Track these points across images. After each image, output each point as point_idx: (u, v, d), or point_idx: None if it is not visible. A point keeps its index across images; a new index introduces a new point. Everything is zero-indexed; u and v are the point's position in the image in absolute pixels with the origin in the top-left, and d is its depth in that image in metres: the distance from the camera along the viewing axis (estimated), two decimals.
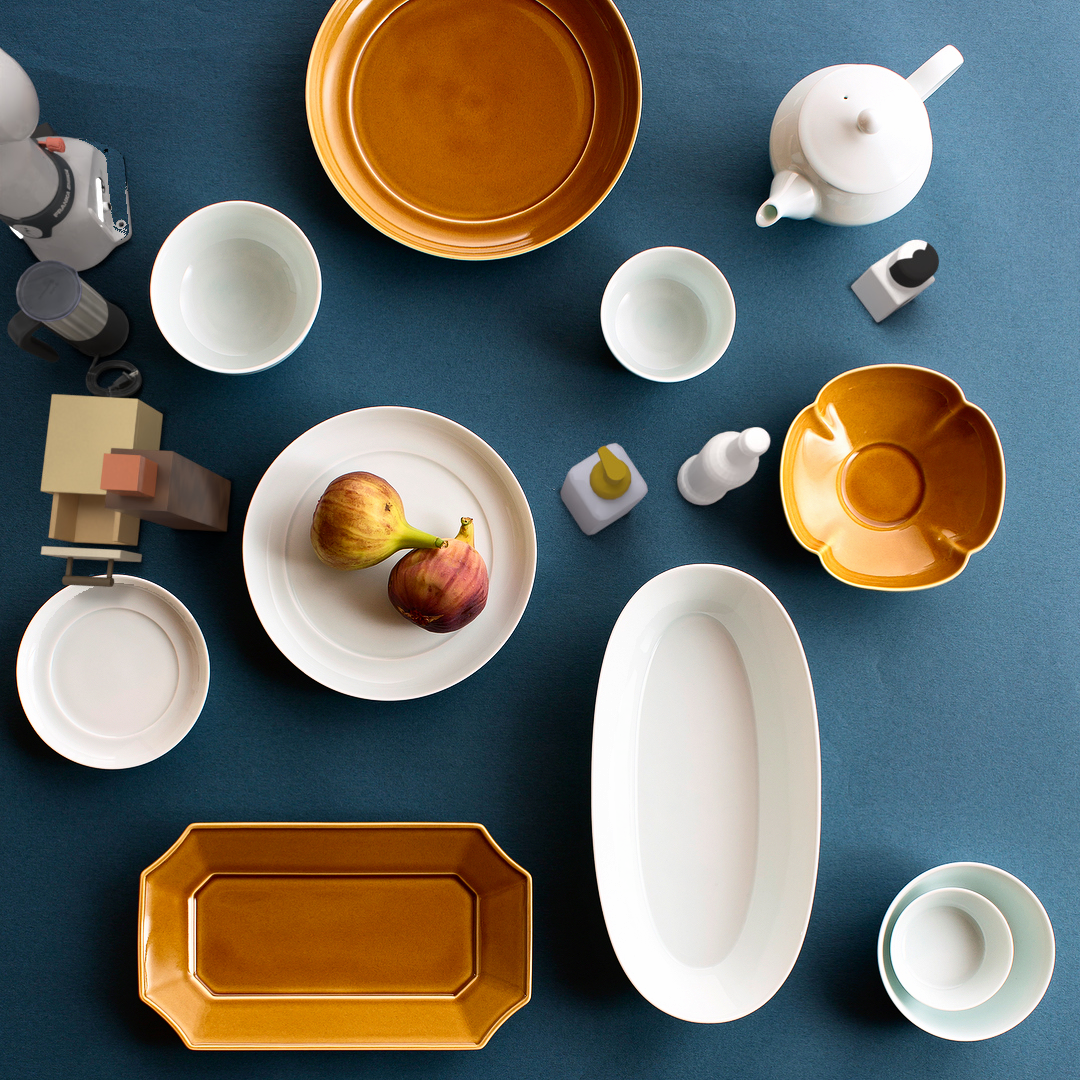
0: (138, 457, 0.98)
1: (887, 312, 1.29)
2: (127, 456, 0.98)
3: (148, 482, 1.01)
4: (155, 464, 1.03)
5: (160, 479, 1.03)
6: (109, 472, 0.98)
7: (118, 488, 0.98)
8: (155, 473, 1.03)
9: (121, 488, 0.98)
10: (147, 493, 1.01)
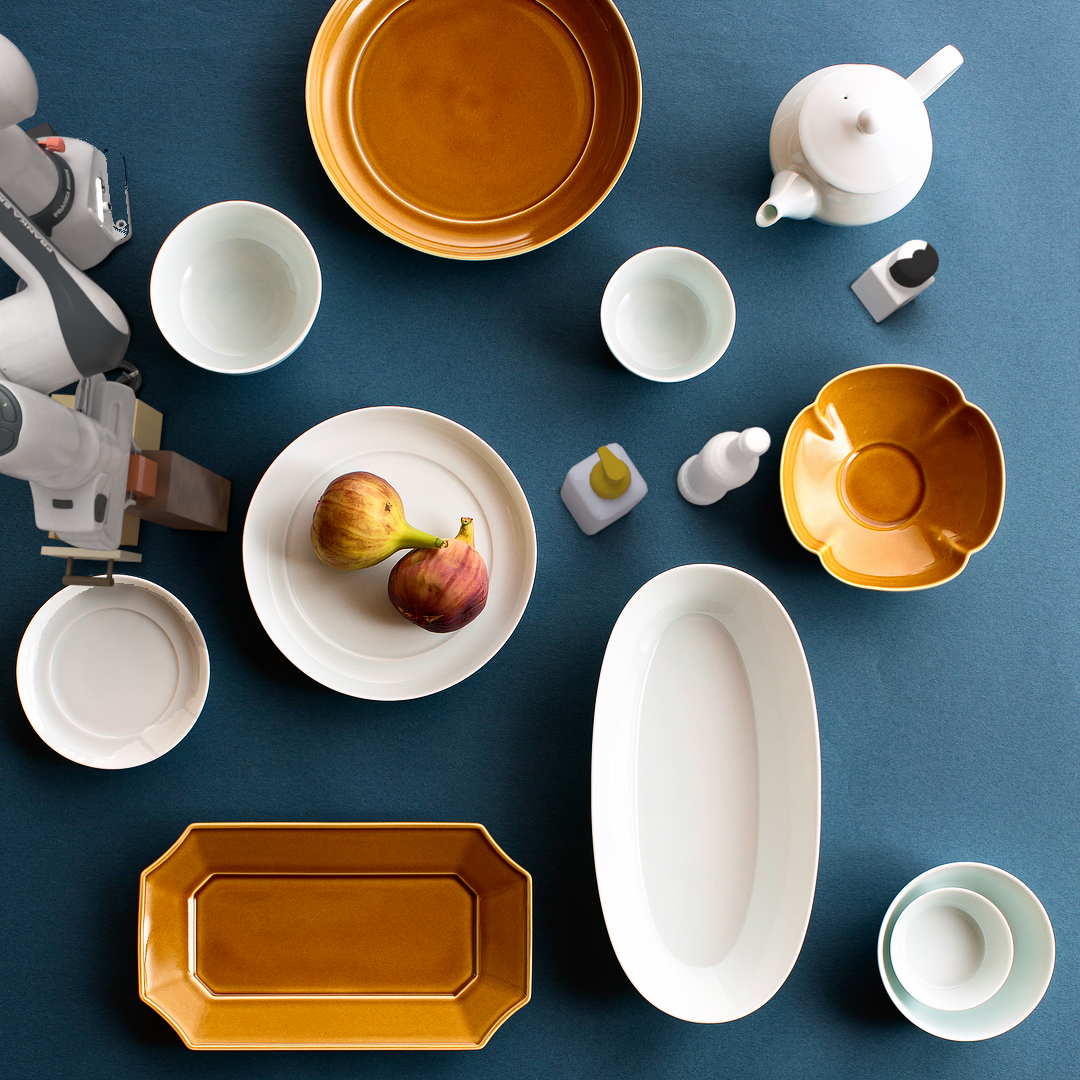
0: (138, 457, 0.98)
1: (887, 312, 1.29)
2: None
3: (148, 482, 1.01)
4: (155, 464, 1.03)
5: (160, 479, 1.03)
6: None
7: None
8: (155, 473, 1.03)
9: None
10: (147, 493, 1.01)
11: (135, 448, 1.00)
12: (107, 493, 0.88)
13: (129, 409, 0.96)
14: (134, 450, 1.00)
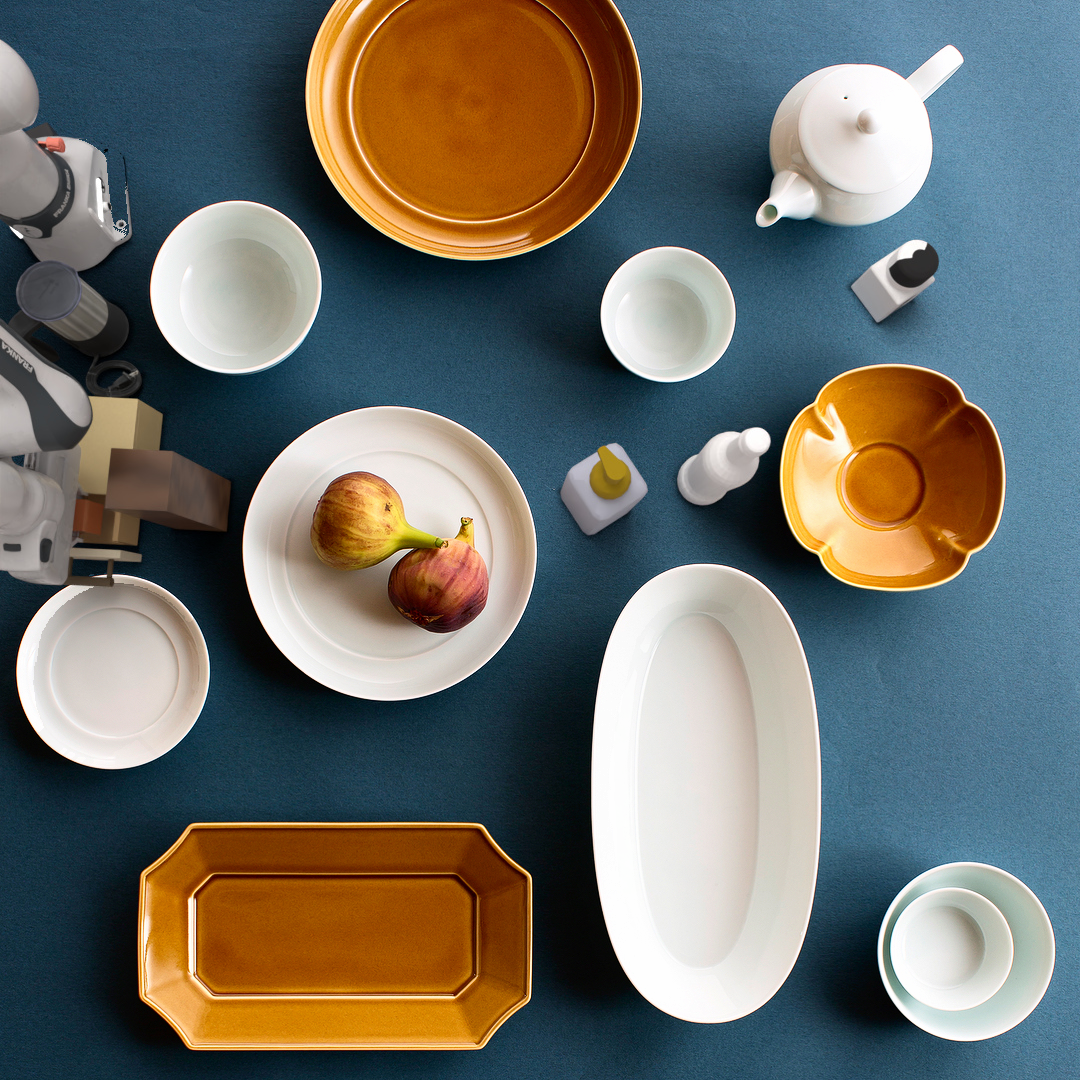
0: (84, 501, 1.12)
1: (887, 312, 1.29)
2: None
3: (94, 522, 1.15)
4: (101, 506, 1.16)
5: (160, 479, 1.03)
6: None
7: None
8: (101, 513, 1.17)
9: None
10: (93, 532, 1.15)
11: (82, 493, 1.14)
12: (52, 537, 1.02)
13: (74, 460, 1.10)
14: (81, 494, 1.14)
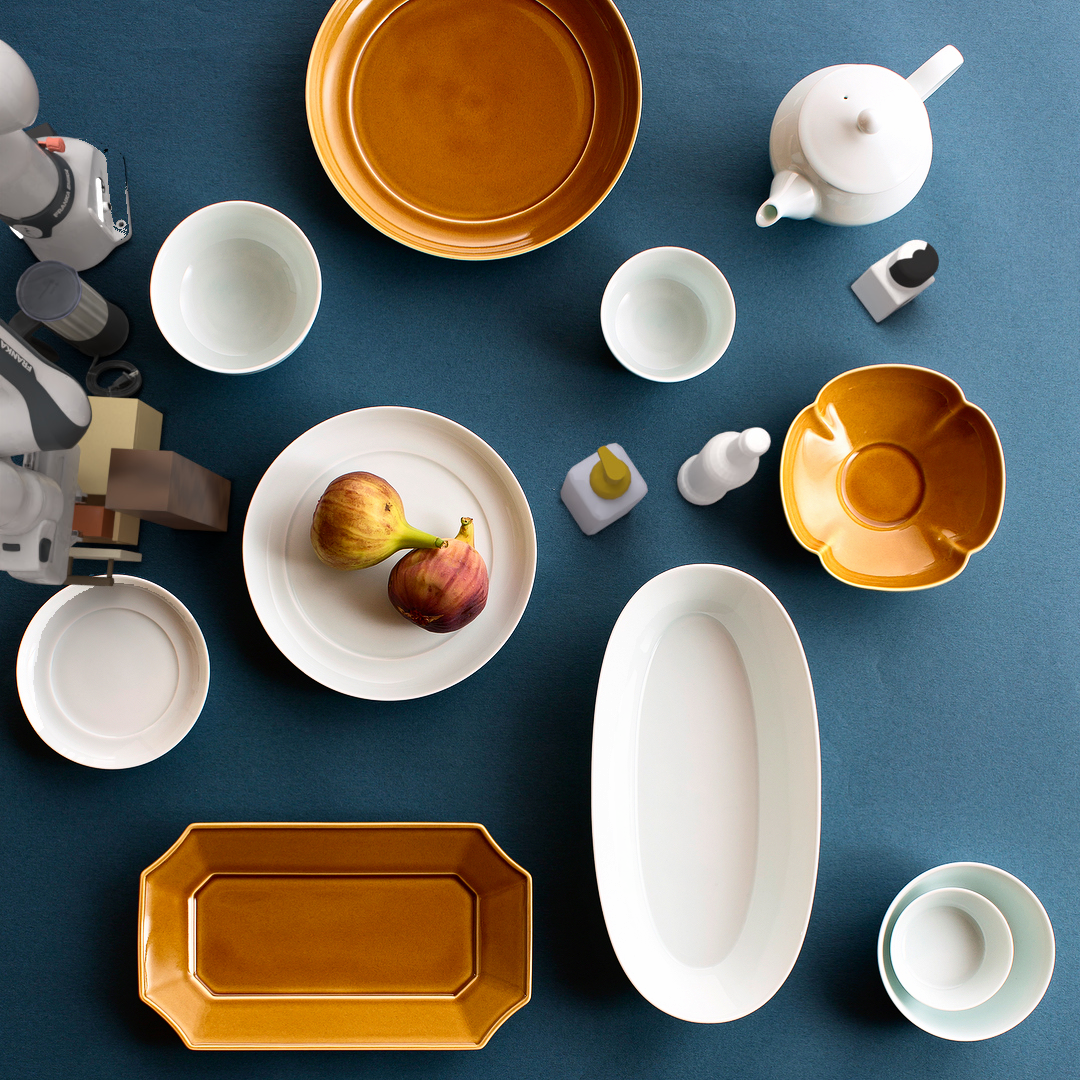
0: (102, 508, 1.17)
1: (887, 312, 1.29)
2: (93, 507, 1.17)
3: (111, 528, 1.20)
4: None
5: (160, 479, 1.03)
6: (78, 520, 1.17)
7: (85, 534, 1.17)
8: None
9: (88, 534, 1.17)
10: (110, 537, 1.20)
11: (81, 494, 1.13)
12: (51, 537, 1.02)
13: (74, 460, 1.09)
14: (80, 495, 1.14)
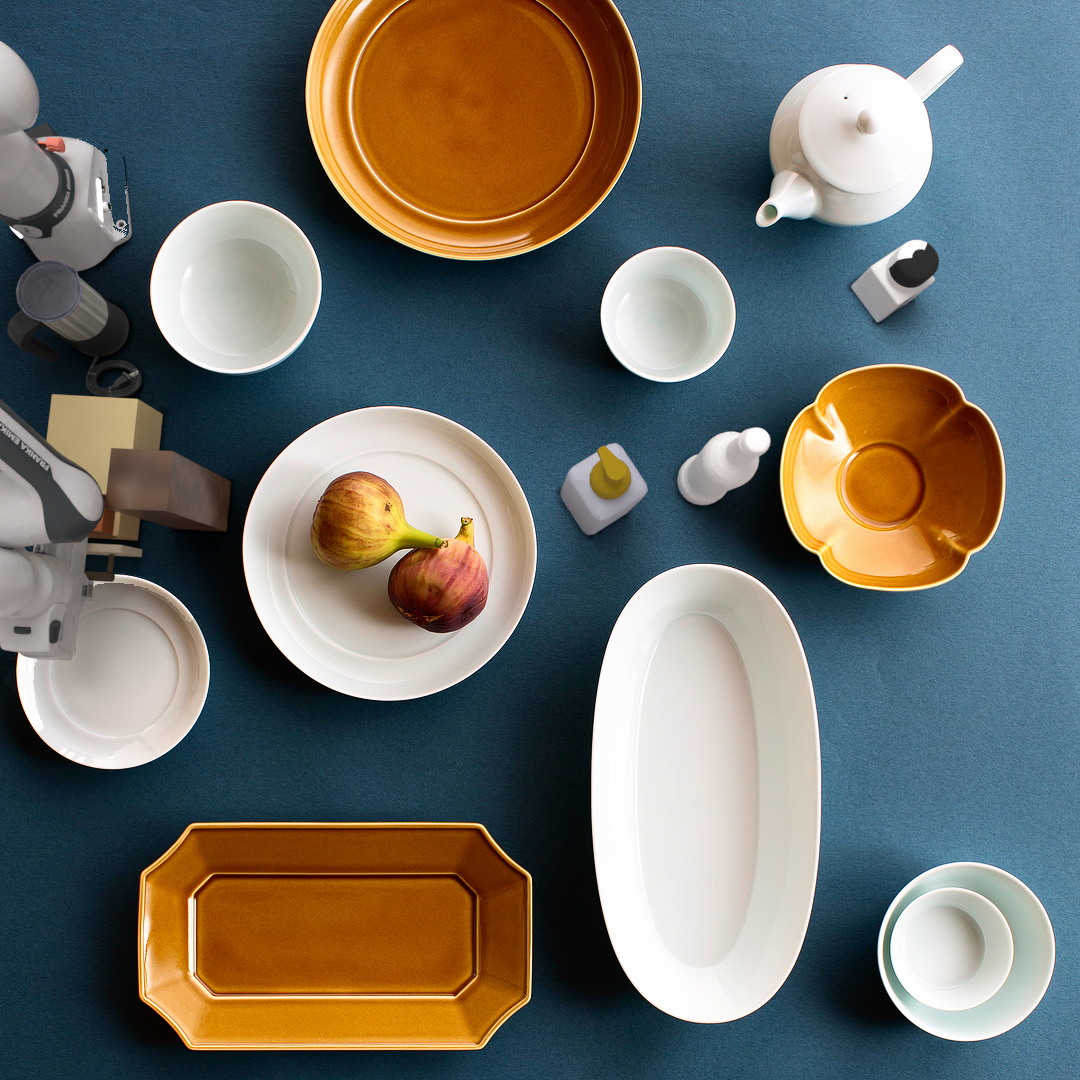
0: None
1: (887, 312, 1.29)
2: None
3: (112, 523, 1.20)
4: None
5: (160, 479, 1.03)
6: None
7: None
8: None
9: None
10: (111, 532, 1.20)
11: (87, 583, 1.16)
12: (61, 618, 1.05)
13: None
14: (87, 584, 1.17)
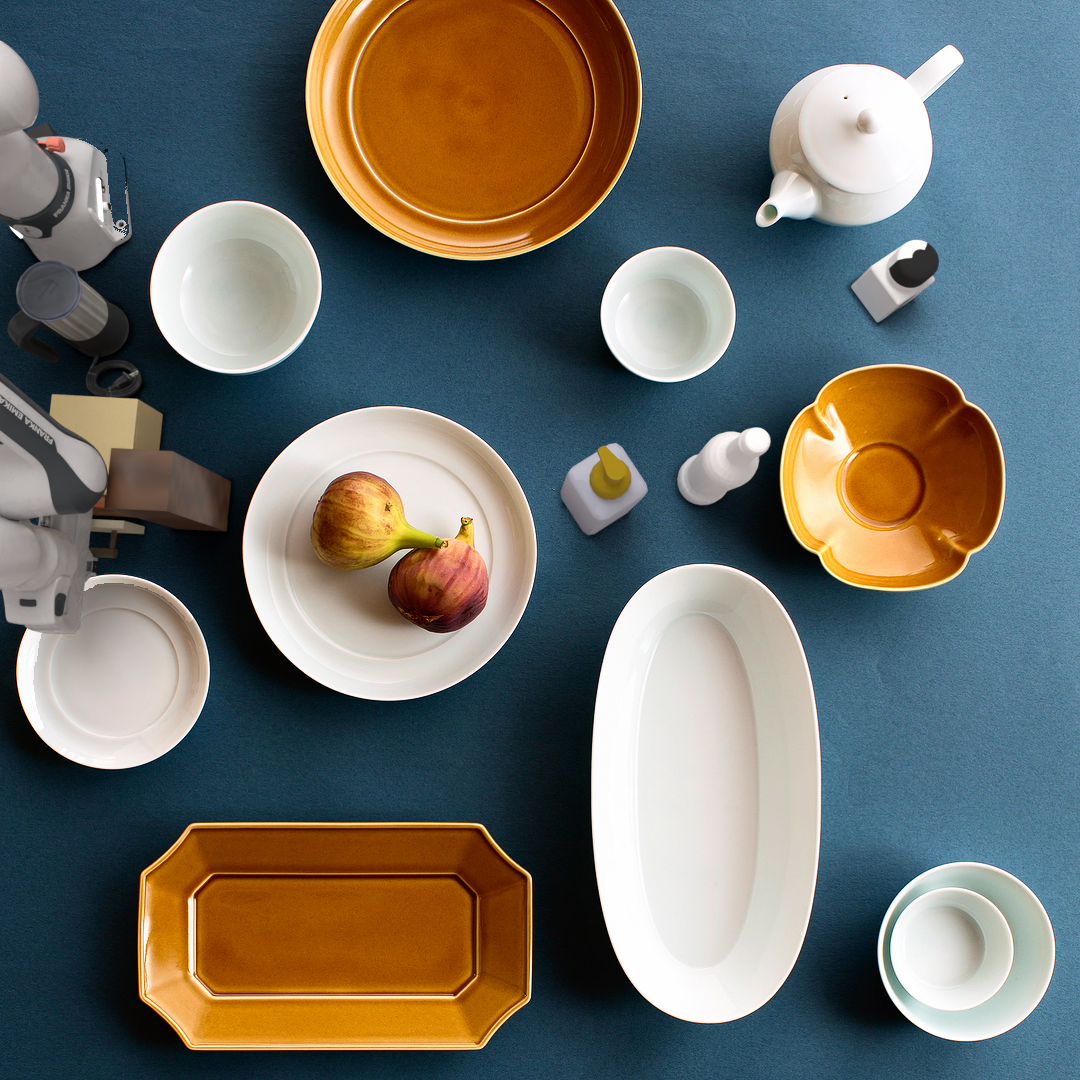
0: None
1: (887, 312, 1.29)
2: None
3: None
4: None
5: (160, 479, 1.03)
6: None
7: None
8: None
9: None
10: None
11: (92, 559, 1.17)
12: (66, 591, 1.06)
13: (87, 514, 1.14)
14: (91, 560, 1.18)
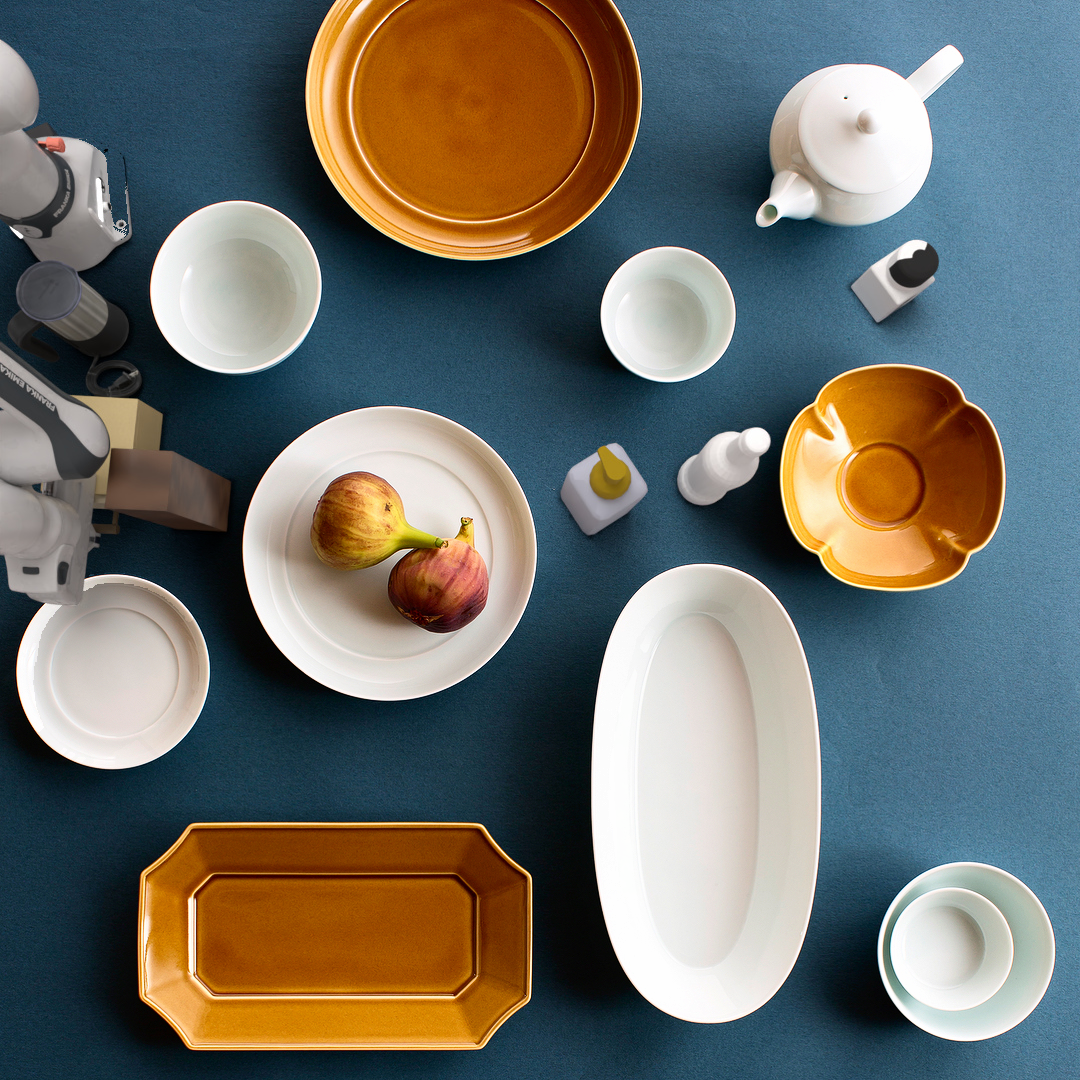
0: None
1: (887, 312, 1.29)
2: None
3: None
4: None
5: (160, 479, 1.03)
6: None
7: None
8: None
9: None
10: None
11: (94, 534, 1.18)
12: (69, 560, 1.07)
13: (90, 485, 1.14)
14: (94, 535, 1.18)
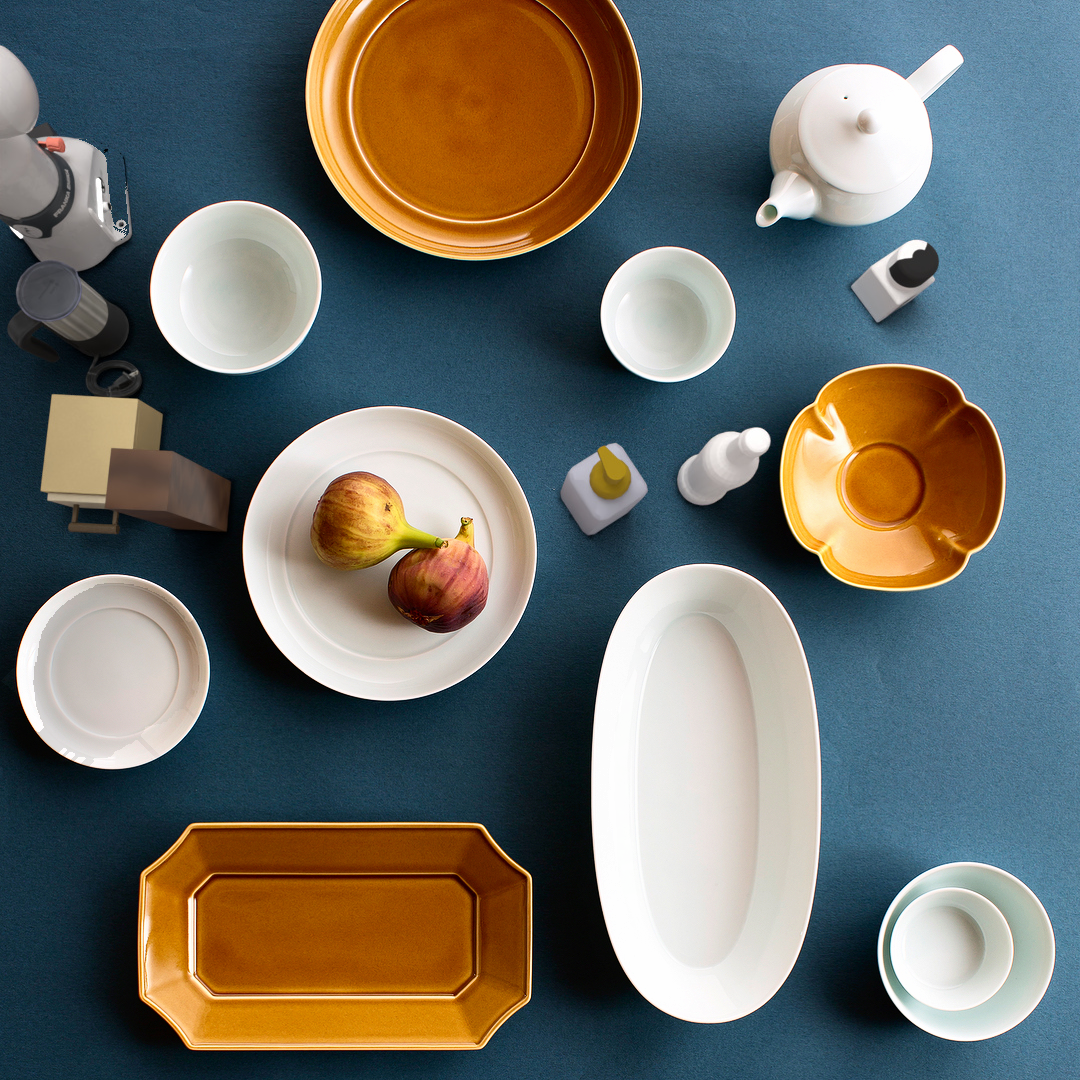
0: None
1: (887, 312, 1.29)
2: None
3: None
4: None
5: (160, 479, 1.03)
6: None
7: None
8: None
9: None
10: None
11: None
12: None
13: None
14: None
